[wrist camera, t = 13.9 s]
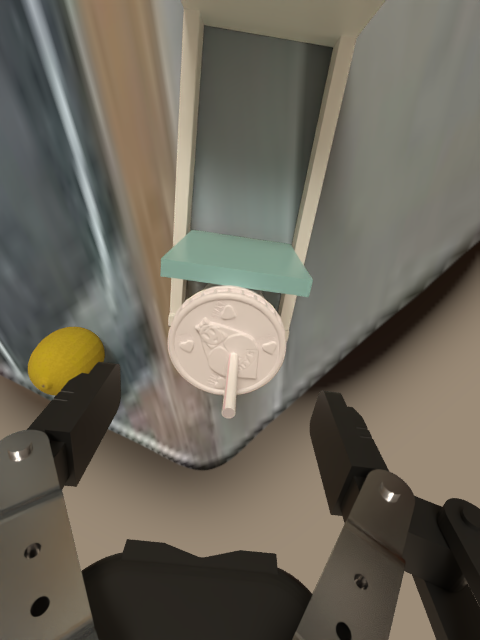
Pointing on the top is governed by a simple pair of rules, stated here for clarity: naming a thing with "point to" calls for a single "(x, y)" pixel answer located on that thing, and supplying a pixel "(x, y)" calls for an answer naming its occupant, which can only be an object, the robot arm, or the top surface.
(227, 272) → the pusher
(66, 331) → the lemon
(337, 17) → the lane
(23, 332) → the top surface
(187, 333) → the smoothie
